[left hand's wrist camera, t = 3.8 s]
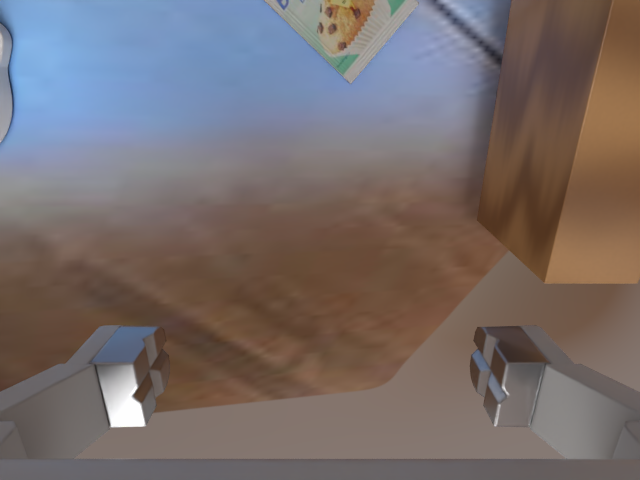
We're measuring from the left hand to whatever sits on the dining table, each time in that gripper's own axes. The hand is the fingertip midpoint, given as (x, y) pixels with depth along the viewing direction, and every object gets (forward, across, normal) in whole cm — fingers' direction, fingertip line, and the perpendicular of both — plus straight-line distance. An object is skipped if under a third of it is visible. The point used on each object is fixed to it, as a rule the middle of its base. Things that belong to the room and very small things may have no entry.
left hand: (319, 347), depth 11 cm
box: (+27, -18, -8) cm, 34 cm away
